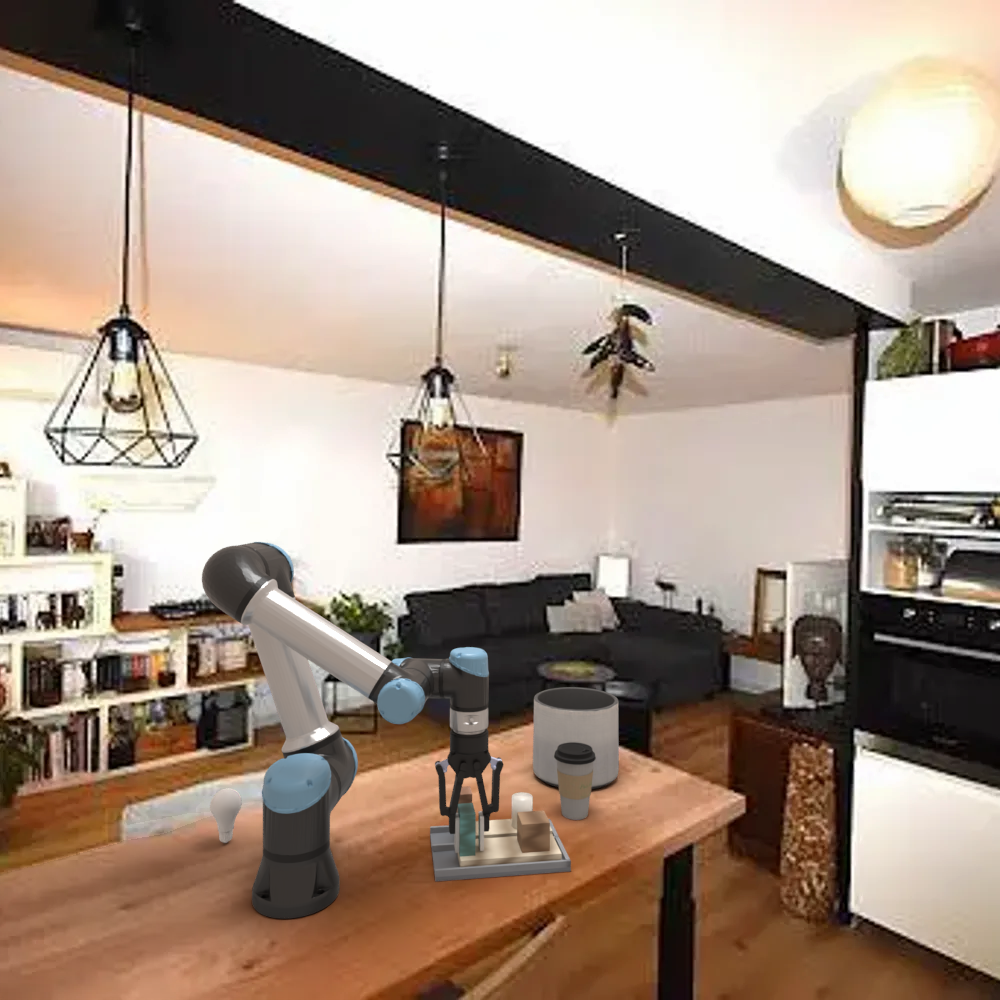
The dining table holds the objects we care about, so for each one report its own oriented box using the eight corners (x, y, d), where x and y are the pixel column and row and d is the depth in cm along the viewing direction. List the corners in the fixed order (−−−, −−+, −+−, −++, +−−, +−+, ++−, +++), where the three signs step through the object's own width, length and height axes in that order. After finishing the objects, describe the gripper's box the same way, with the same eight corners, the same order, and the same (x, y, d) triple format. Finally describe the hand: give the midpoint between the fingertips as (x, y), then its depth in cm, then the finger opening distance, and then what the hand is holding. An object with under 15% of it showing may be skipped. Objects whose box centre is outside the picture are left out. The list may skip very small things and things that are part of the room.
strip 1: (457, 846, 144) (458, 797, 144) (455, 831, 150) (455, 784, 150) (552, 840, 147) (552, 791, 147) (545, 826, 153) (546, 779, 153)
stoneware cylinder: (513, 830, 147) (513, 801, 147) (509, 821, 151) (510, 792, 151) (534, 829, 147) (534, 800, 147) (530, 819, 152) (530, 791, 152)
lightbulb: (204, 842, 147) (204, 789, 147) (232, 832, 152) (233, 781, 152) (218, 852, 143) (218, 798, 143) (246, 842, 147) (247, 789, 147)
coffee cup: (593, 825, 156) (594, 757, 156) (551, 821, 158) (551, 753, 158) (596, 807, 165) (597, 742, 165) (556, 803, 167) (556, 739, 167)
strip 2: (460, 871, 135) (460, 818, 134) (456, 850, 143) (456, 800, 143) (561, 864, 137) (561, 812, 137) (552, 843, 146) (552, 794, 146)
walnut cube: (521, 852, 138) (522, 824, 138) (517, 839, 143) (517, 812, 143) (549, 850, 138) (549, 822, 138) (543, 837, 144) (543, 810, 144)
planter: (536, 757, 197) (537, 685, 197) (617, 762, 194) (618, 688, 193) (528, 790, 175) (529, 708, 175) (619, 795, 172) (620, 712, 172)
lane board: (435, 881, 133) (435, 870, 133) (430, 835, 151) (430, 826, 151) (570, 871, 137) (570, 860, 137) (550, 828, 155) (550, 818, 154)
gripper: (426, 737, 134) (425, 861, 134) (515, 732, 136) (515, 854, 136) (424, 724, 141) (424, 842, 141) (509, 720, 144) (509, 836, 144)
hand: (469, 848), depth 139 cm, fingers closed on strip 2, 4 cm apart
